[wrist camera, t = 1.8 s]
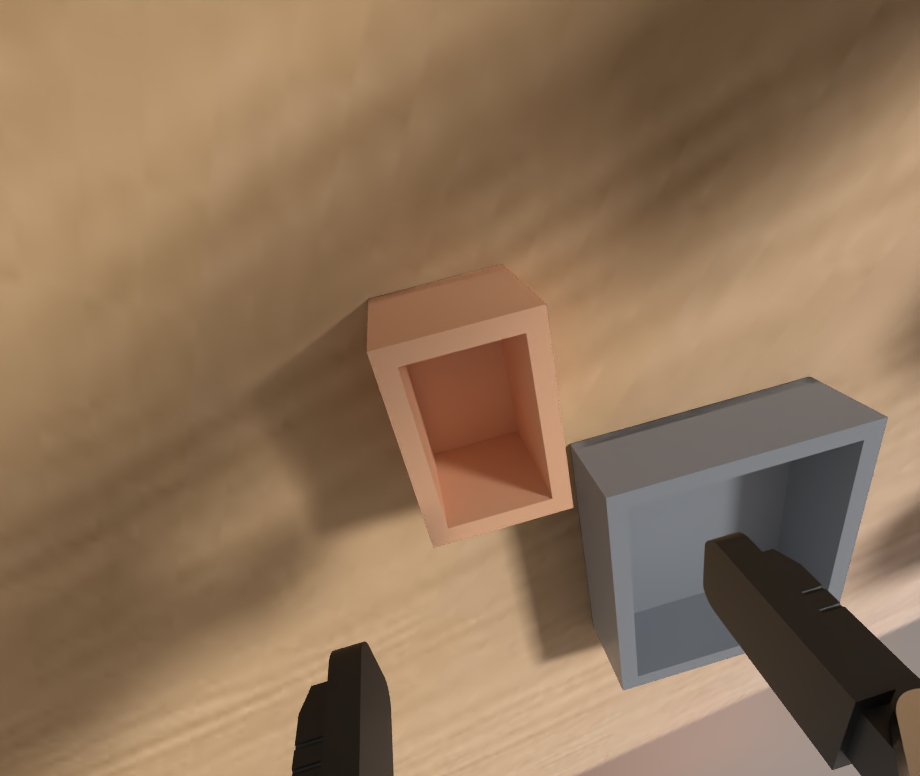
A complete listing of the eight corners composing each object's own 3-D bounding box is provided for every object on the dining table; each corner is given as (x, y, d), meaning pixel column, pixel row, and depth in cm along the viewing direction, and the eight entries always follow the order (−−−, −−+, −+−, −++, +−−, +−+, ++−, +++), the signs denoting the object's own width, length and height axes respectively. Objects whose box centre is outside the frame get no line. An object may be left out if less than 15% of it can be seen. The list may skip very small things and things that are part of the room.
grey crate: (810, 376, 26) (887, 417, 22) (779, 570, 34) (833, 626, 30) (570, 443, 26) (606, 497, 22) (593, 625, 33) (623, 690, 29)
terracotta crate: (502, 263, 21) (546, 304, 15) (530, 431, 25) (573, 507, 20) (368, 299, 20) (366, 352, 15) (420, 462, 25) (433, 547, 19)
